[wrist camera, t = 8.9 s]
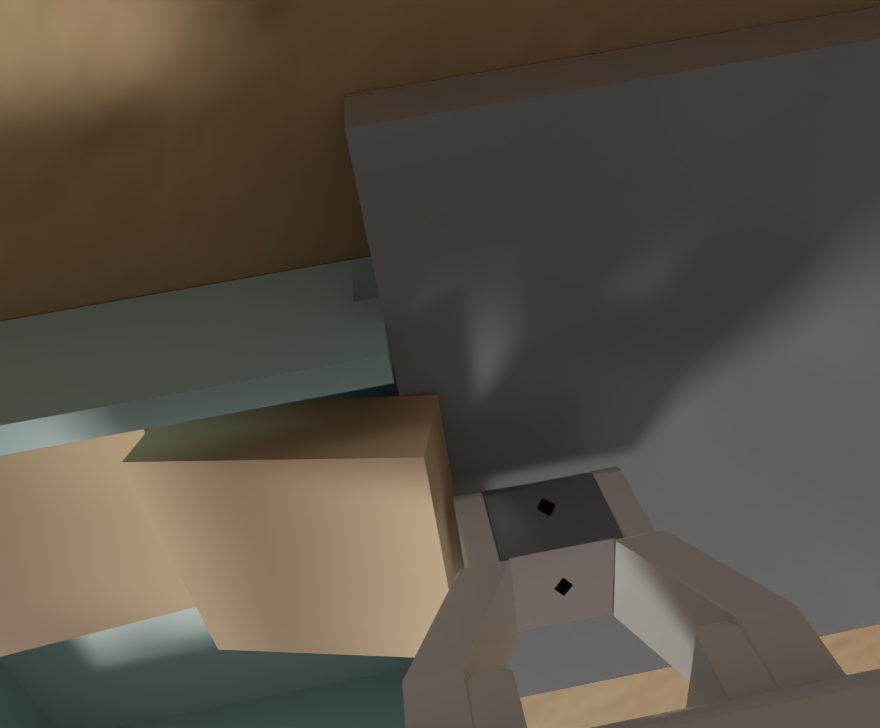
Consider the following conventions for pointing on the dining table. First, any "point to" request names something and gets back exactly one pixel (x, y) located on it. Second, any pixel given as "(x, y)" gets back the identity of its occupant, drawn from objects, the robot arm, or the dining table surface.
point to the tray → (179, 400)
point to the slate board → (651, 298)
